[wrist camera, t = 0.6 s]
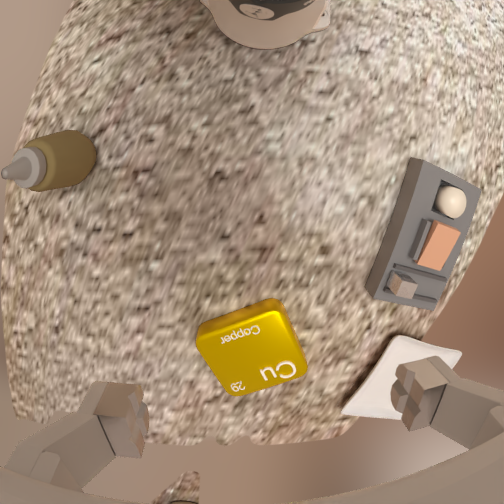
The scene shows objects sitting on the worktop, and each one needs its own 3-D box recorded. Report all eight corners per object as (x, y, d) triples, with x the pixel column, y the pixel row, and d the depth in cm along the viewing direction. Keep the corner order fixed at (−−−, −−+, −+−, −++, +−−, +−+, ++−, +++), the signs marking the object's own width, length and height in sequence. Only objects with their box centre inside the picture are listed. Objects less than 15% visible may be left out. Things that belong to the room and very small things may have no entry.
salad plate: (457, 344, 56) (465, 353, 53) (405, 411, 63) (410, 421, 60) (390, 324, 53) (397, 334, 50) (335, 403, 60) (338, 414, 57)
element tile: (278, 292, 50) (281, 308, 46) (307, 358, 55) (311, 375, 51) (193, 324, 52) (190, 341, 47) (231, 383, 57) (231, 401, 52)
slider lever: (392, 270, 44) (402, 280, 41) (407, 274, 44) (418, 284, 41) (386, 284, 45) (395, 295, 42) (401, 288, 45) (411, 299, 42)
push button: (439, 180, 40) (450, 184, 38) (458, 190, 41) (469, 194, 38) (430, 208, 42) (440, 213, 39) (450, 216, 42) (460, 221, 40)
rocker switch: (434, 219, 40) (438, 223, 39) (457, 228, 41) (460, 232, 40) (414, 259, 43) (417, 264, 42) (437, 266, 44) (440, 270, 43)
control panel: (410, 157, 42) (429, 161, 37) (467, 185, 44) (487, 191, 39) (364, 286, 50) (376, 303, 44) (423, 299, 51) (437, 315, 46)
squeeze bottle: (82, 192, 43) (11, 227, 26) (50, 159, 41) (-27, 179, 24) (113, 152, 41) (44, 167, 24) (79, 118, 39) (3, 119, 22)
